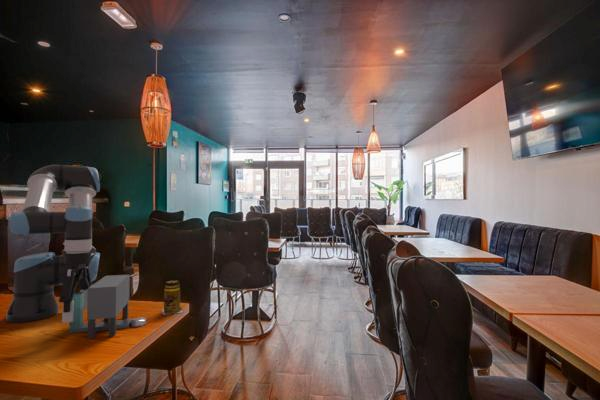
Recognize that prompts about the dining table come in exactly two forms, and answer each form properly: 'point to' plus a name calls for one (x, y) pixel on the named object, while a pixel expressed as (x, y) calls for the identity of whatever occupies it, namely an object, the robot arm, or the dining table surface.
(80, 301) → the l-shaped tool
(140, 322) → the token
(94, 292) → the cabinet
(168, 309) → the condiment
